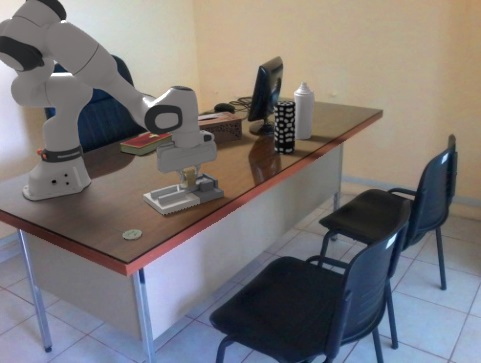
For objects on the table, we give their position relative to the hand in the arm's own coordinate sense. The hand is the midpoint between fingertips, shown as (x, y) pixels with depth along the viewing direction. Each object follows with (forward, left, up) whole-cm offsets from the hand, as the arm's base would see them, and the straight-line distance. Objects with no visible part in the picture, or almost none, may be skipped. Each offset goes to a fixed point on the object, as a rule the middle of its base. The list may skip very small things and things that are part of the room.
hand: (189, 179), depth 150 cm
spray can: (+71, +23, -6) cm, 75 cm away
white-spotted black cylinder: (+53, +14, -6) cm, 55 cm away
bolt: (+2, 0, -4) cm, 4 cm away
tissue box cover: (+37, +47, -7) cm, 60 cm away
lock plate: (-2, 0, -6) cm, 7 cm away
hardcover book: (+12, +57, -7) cm, 59 cm away
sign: (-27, -8, -7) cm, 29 cm away
